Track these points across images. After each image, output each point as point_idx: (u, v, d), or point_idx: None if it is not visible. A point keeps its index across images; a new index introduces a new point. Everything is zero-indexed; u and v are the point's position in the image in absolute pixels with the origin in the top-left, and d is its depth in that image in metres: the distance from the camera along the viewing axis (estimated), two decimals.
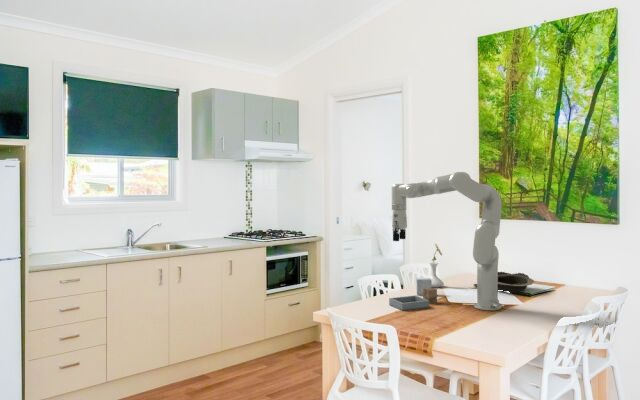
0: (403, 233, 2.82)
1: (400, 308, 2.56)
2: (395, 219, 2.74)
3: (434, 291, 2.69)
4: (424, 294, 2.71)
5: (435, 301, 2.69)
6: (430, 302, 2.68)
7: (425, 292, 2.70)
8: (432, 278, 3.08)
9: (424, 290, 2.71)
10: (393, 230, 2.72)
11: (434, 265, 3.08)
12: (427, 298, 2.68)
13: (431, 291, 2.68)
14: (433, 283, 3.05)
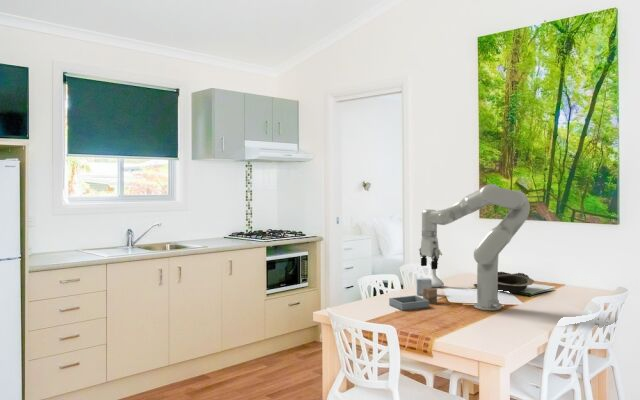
0: (425, 260, 2.75)
1: (400, 308, 2.56)
2: (433, 247, 2.65)
3: (434, 291, 2.69)
4: (424, 294, 2.71)
5: (435, 301, 2.69)
6: (430, 302, 2.68)
7: (425, 292, 2.70)
8: (432, 278, 3.08)
9: (424, 290, 2.71)
10: (436, 258, 2.63)
11: None
12: (427, 298, 2.68)
13: (431, 291, 2.68)
14: (433, 283, 3.05)
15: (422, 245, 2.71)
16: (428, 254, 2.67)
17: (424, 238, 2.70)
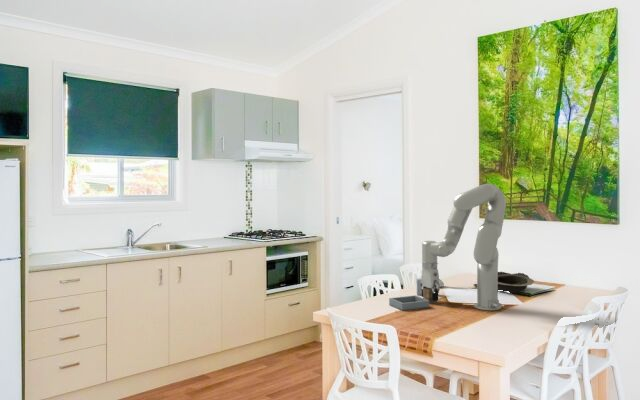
0: None
1: (400, 308, 2.56)
2: (434, 278, 2.66)
3: None
4: (424, 294, 2.71)
5: (435, 301, 2.69)
6: (430, 302, 2.68)
7: (425, 292, 2.70)
8: None
9: (424, 290, 2.71)
10: (437, 290, 2.63)
11: None
12: (427, 298, 2.68)
13: (431, 291, 2.68)
14: None
15: (423, 276, 2.72)
16: (429, 286, 2.67)
17: (424, 270, 2.70)
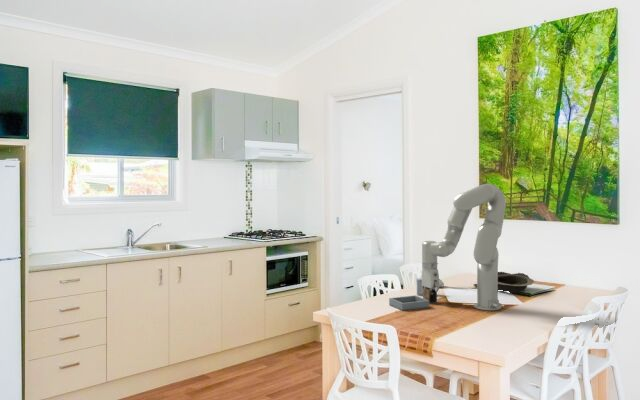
0: None
1: (400, 308, 2.56)
2: (434, 279, 2.66)
3: None
4: (424, 294, 2.71)
5: None
6: (430, 302, 2.68)
7: (425, 292, 2.70)
8: None
9: (424, 290, 2.71)
10: (435, 292, 2.66)
11: None
12: (427, 298, 2.68)
13: None
14: None
15: (423, 276, 2.72)
16: (429, 286, 2.67)
17: (424, 270, 2.70)
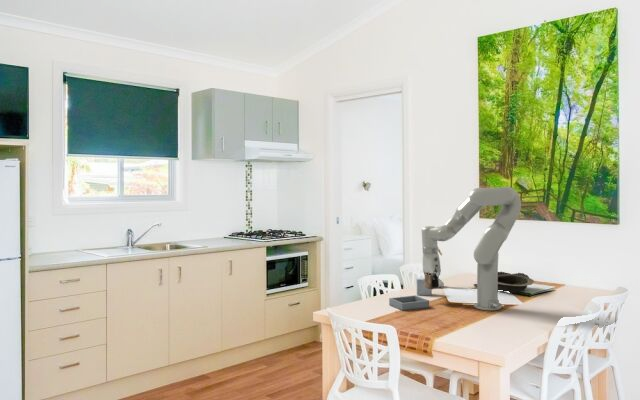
0: None
1: (400, 308, 2.56)
2: (435, 263, 2.65)
3: None
4: (426, 280, 2.70)
5: None
6: (432, 287, 2.67)
7: (426, 277, 2.70)
8: None
9: (425, 276, 2.70)
10: (436, 277, 2.65)
11: None
12: (429, 284, 2.68)
13: None
14: None
15: (424, 262, 2.71)
16: (430, 271, 2.67)
17: (425, 256, 2.70)
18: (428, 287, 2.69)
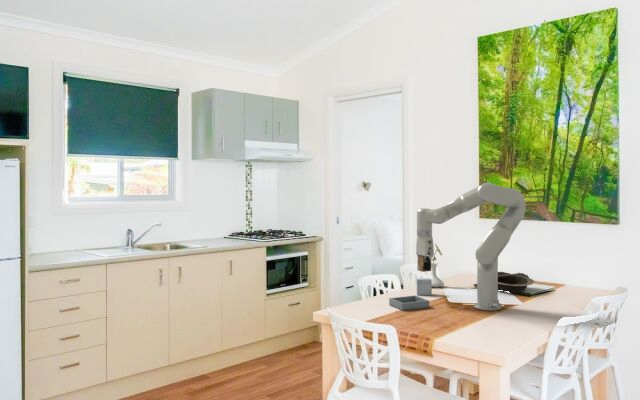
0: None
1: (400, 308, 2.56)
2: (428, 246, 2.63)
3: None
4: (418, 262, 2.69)
5: None
6: (424, 270, 2.66)
7: (419, 260, 2.68)
8: (432, 278, 3.08)
9: (418, 258, 2.69)
10: (429, 259, 2.63)
11: (434, 265, 3.08)
12: (421, 266, 2.66)
13: None
14: (433, 283, 3.05)
15: (417, 244, 2.70)
16: (423, 253, 2.65)
17: (419, 238, 2.68)
18: (420, 269, 2.67)
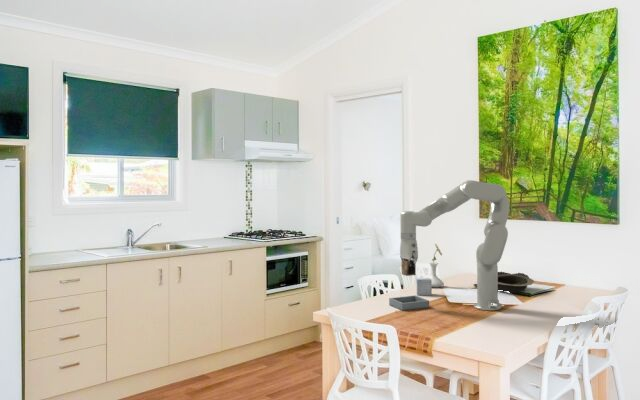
0: None
1: (400, 308, 2.56)
2: (412, 249, 2.57)
3: None
4: (402, 266, 2.63)
5: None
6: (408, 274, 2.60)
7: (403, 263, 2.62)
8: (432, 278, 3.08)
9: (402, 262, 2.63)
10: (413, 263, 2.57)
11: (434, 265, 3.08)
12: (405, 270, 2.60)
13: None
14: (433, 283, 3.05)
15: (401, 248, 2.64)
16: (407, 257, 2.59)
17: (403, 241, 2.62)
18: (404, 273, 2.61)
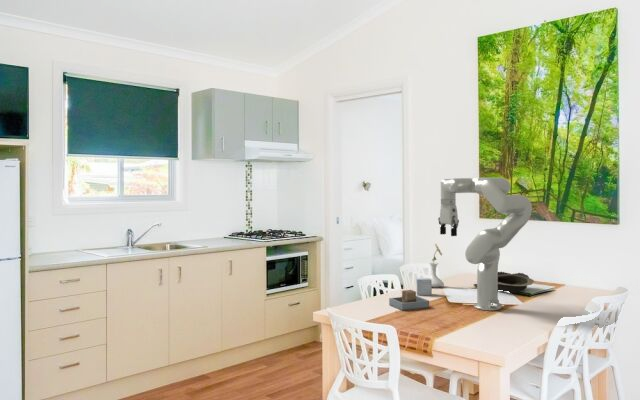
0: (444, 228, 2.83)
1: (400, 308, 2.56)
2: (453, 214, 2.73)
3: (413, 293, 2.61)
4: (403, 296, 2.63)
5: None
6: None
7: (403, 294, 2.63)
8: (432, 278, 3.08)
9: (403, 292, 2.63)
10: (456, 225, 2.71)
11: (434, 265, 3.08)
12: (406, 301, 2.61)
13: (410, 293, 2.60)
14: (433, 283, 3.05)
15: (441, 214, 2.79)
16: (447, 222, 2.75)
17: (443, 207, 2.78)
18: None
